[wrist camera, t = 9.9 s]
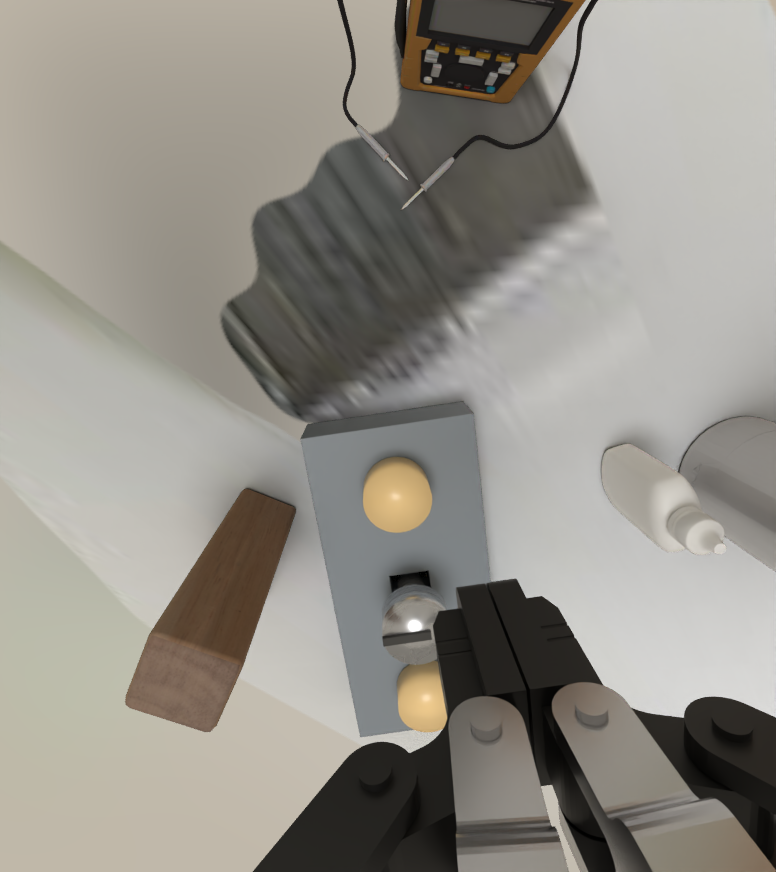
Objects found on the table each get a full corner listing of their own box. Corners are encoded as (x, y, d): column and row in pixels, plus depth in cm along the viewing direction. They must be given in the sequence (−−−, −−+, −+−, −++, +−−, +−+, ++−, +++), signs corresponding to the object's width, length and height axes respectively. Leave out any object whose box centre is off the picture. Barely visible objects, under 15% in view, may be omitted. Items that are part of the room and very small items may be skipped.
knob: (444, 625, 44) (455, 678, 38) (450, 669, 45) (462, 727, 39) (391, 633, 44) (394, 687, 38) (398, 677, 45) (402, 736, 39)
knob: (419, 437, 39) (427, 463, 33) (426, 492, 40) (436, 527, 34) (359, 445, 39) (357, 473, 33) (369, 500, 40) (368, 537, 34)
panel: (463, 401, 39) (473, 413, 35) (493, 681, 46) (504, 716, 42) (307, 424, 39) (300, 439, 35) (361, 699, 46) (360, 737, 42)
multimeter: (332, 201, 35) (284, 93, 16) (347, 30, 32) (310, -357, 13) (542, 230, 36) (741, 161, 16) (574, 66, 33) (856, -246, 14)
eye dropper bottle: (659, 448, 40) (774, 510, 29) (636, 512, 42) (737, 596, 30) (607, 437, 40) (702, 497, 28) (585, 503, 41) (668, 585, 30)
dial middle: (436, 552, 39) (448, 602, 33) (443, 604, 40) (456, 662, 34) (376, 561, 39) (377, 612, 33) (385, 613, 40) (388, 671, 34)
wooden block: (258, 597, 43) (181, 804, 26) (207, 578, 42) (93, 778, 25) (298, 506, 41) (243, 666, 24) (244, 485, 40) (148, 633, 23)
